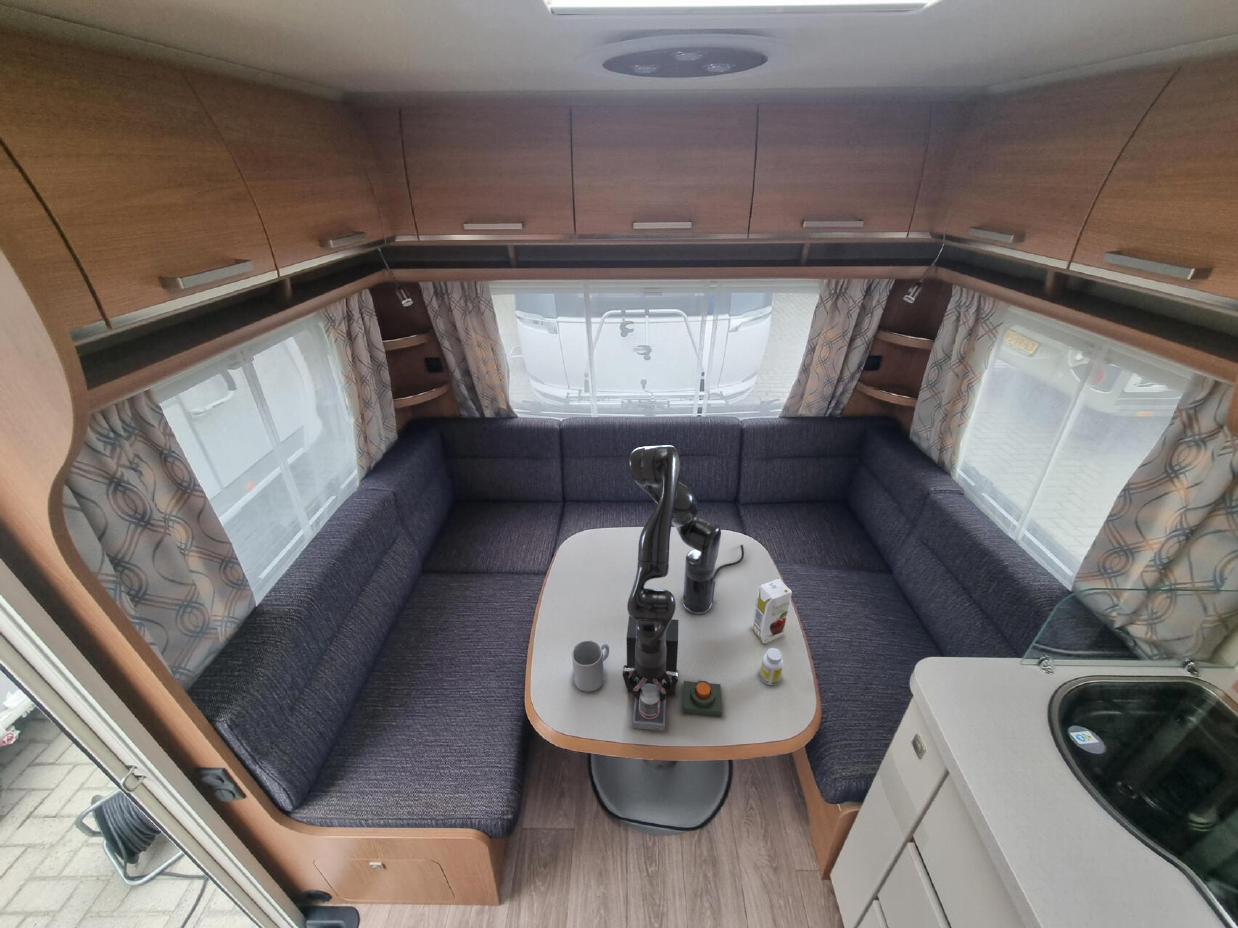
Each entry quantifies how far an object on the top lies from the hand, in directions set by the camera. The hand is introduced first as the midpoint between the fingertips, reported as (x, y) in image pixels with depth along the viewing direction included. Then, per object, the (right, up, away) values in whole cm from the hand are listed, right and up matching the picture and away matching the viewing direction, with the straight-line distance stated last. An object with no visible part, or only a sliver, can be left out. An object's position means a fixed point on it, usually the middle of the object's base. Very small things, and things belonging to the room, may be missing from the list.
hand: (649, 697), depth 125 cm
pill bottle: (0, -5, +3) cm, 6 cm away
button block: (+14, -4, +7) cm, 16 cm away
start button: (+14, -1, +5) cm, 15 cm away
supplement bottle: (+35, 0, +12) cm, 37 cm away
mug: (-15, -1, +14) cm, 21 cm away
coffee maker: (+1, -4, +7) cm, 8 cm away
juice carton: (+38, +7, +26) cm, 46 cm away
